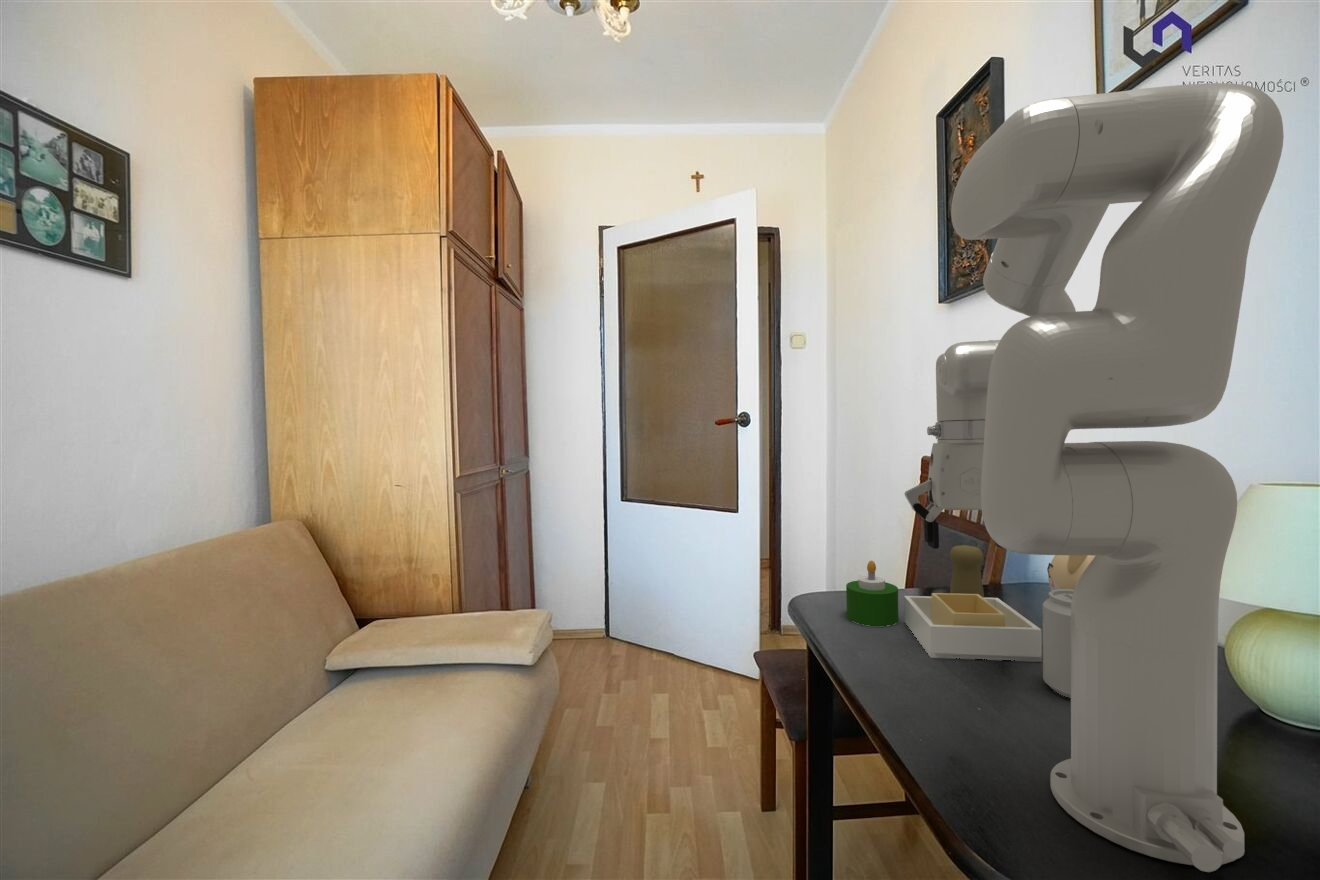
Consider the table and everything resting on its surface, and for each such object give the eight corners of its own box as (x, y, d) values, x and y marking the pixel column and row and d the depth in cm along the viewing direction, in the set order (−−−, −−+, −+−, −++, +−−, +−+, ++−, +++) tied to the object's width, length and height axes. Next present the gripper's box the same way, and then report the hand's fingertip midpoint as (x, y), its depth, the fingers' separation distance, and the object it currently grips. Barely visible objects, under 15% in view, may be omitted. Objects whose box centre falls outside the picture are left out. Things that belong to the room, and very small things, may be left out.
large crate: (1041, 661, 80) (1041, 629, 80) (930, 657, 82) (930, 626, 82) (997, 625, 94) (997, 597, 94) (904, 622, 96) (903, 595, 96)
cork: (987, 605, 104) (986, 544, 103) (985, 615, 99) (984, 551, 98) (949, 600, 107) (949, 541, 107) (946, 610, 102) (945, 548, 102)
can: (1132, 709, 67) (1132, 605, 66) (1060, 704, 68) (1059, 603, 68) (1097, 680, 74) (1097, 587, 74) (1032, 676, 75) (1032, 585, 75)
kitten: (1087, 612, 99) (1086, 525, 99) (1155, 631, 90) (1155, 535, 89) (1025, 625, 94) (1025, 533, 93) (1091, 647, 84) (1091, 545, 84)
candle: (837, 619, 99) (836, 560, 99) (862, 607, 104) (861, 552, 104) (883, 631, 93) (882, 569, 92) (907, 618, 98) (906, 560, 98)
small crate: (1005, 649, 82) (1005, 614, 82) (953, 647, 84) (952, 613, 83) (978, 625, 92) (978, 594, 92) (931, 623, 93) (931, 593, 93)
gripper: (910, 434, 85) (913, 551, 84) (1040, 431, 82) (1042, 552, 82) (898, 434, 92) (900, 542, 92) (1016, 432, 89) (1018, 543, 89)
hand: (967, 547), depth 87 cm, fingers open, 9 cm apart
